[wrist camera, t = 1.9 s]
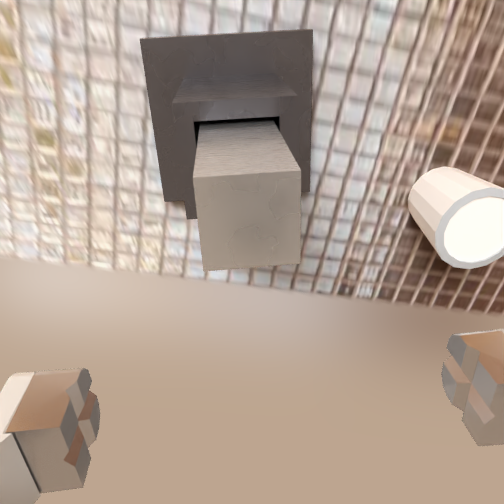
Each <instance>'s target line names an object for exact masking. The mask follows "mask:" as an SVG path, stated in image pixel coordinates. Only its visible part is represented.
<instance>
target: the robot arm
mask: <svg viewBox="0 0 504 504" xmlns="http://www.w3.org/2000/svg"><path fill="white" fill-rule="evenodd" d="M447 349H448V350H449V352H450V353H451V356H450V357H449V358H448V359H447V360H446V361H445V362H444V363H443V368H442V381H443V387H444V390H445V392H446V395H447V397H448V398H449V400H450V402H451V403H452V404H453V405H454V406H456V407H457V408H459V409H460V410H462V411H464V413H463V418H462V421H463V423H464V424H465V426H466V428H467V429H468V431H469V432H470V434H471V436H472V437H473V439H474V440H475V442H476V444H477V445H478V446H488V445H500V444H501V445H502V444H504V329H497V330H490V331H480V332H469V333H459V334H453V335H452V336H451V337H450V338H449V341H448V345H447ZM91 382H92V380H91V377H90V374H89V371H88V370H87V369H85V368H77V369H63V370H49V371H38V372H26V373H15V374H13V375H12V376H10V377H9V378H8V380H7V382H6V384H5V385H4V387H3V389H2V391H1V392H0V504H34V503H35V502H36V501H37V500H38V498H39V497H40V493H47V492H54V491H61V490H69V489H77V488H83V485H84V482H85V478H86V475H87V471H88V467H89V464H90V460H91V457H90V454H89V450H88V447H89V446H90V445H91V444H92V443H93V442H94V441H95V440H96V438H97V434H98V430H99V422H100V410H99V403H98V399H97V396H96V395H95V394H93V393H92V392H91V391H89V389H90V385H91Z"/></svg>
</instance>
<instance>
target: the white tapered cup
mask: <svg viewBox="0 0 504 504" xmlns="http://www.w3.org/2000/svg"><path fill="white" fill-rule="evenodd" d="M408 210H409V212H410V213H411V215H412V217H413V219H414V220H415V222H416V223H417V224H418V226H419V227H420V229H421V230H422V232H423V233H424V234H425V236H426V237H427V239H428V240H429V242H430V243H431V244H432V246H433V247H434V249H435V250H436V252H437V253H438V255H439V256H440V257H441V259H442V260H443V261H445V262H447V263H448V264H450V265H451V266H453V267H456V268H464V269H472V268H477V267H481V266H486V265H488V264H490V263H491V262H493V261H495V260H497V259H499V258H500V257H502V256H503V255H504V188H501V187H499V186H497V185H494V184H492V183H490V182H487V181H485V180H482V179H480V178H478V177H475V176H473V175H471V174H468V173H466V172H463V171H461V170H459V169H456V168H450V167H441V168H436V169H432V170H430V171H429V172H427V173H426V174H424V175H422V176H421V177H420V178H419V179H418V180H417V182H416V183H415V184H414V185H413V186H412V189H411V191H410V194H409V197H408Z"/></svg>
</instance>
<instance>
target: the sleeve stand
mask: <svg viewBox="0 0 504 504" xmlns="http://www.w3.org/2000/svg"><path fill="white" fill-rule="evenodd" d="M312 43H313V29H299V30H280V31H262V32H243V33H225V34H206V35H188V36H169V37H151V38H141V39H140V44H141V51H142V57H143V64H144V70H145V77H146V83H147V90H148V97H149V103H150V110H151V116H152V123H153V129H154V136H155V142H156V149H157V155H158V162H159V169H160V175H161V182H162V188H163V195H164V201H165V202H168V201H182V200H184V201H185V209H186V216H187V219H197V210H196V202H195V193H194V184H193V172H194V165H195V157H196V150H197V143H198V135H199V128H200V121H210V120H226V119H242V118H258V117H272V119H273V121H274V123H275V124H276V126H277V128H278V130H279V132H280V133H281V135H282V137H283V139H284V141H285V142H286V144H287V146H288V148H289V150H290V151H291V153H292V155H293V157H294V158H295V160H296V162H297V164H298V166H299V167H300V169H301V192H310V148H311V95H312Z"/></svg>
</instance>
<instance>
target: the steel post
mask: <svg viewBox="0 0 504 504" xmlns="http://www.w3.org/2000/svg"><path fill="white" fill-rule="evenodd" d="M193 184H194V193H195V202H196V210H197V219H198V228H199V236H200V245H201V253H202V262H203V271H213V270H226V269H239V268H252V267H265V266H277V265H290V264H300V242H301V169H300V167H299V166H298V164H297V162H296V160H295V158H294V157H293V155H292V153H291V151H290V150H289V148H288V146H287V144H286V142H285V141H284V139H283V137H282V135H281V133H280V132H279V130H278V128H277V126H276V124H275V123H274V121H273V119H272V117H258V118H242V119H226V120H210V121H200V128H199V135H198V143H197V150H196V157H195V165H194V172H193Z"/></svg>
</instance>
